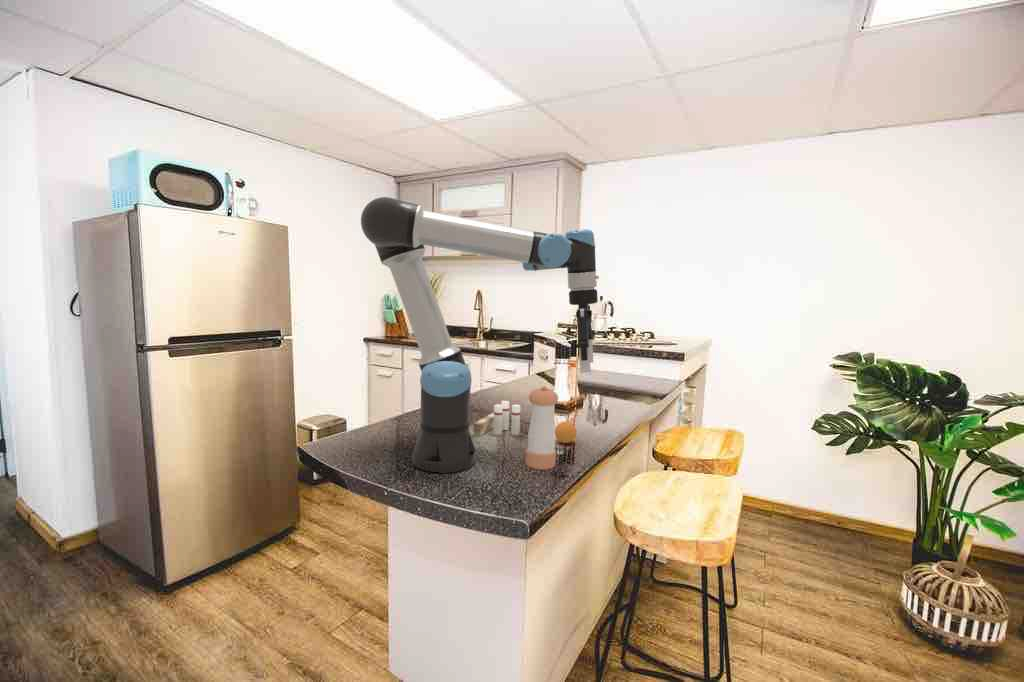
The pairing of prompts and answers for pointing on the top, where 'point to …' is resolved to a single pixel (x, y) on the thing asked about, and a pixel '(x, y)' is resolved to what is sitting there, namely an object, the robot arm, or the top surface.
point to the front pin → (515, 420)
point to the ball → (565, 432)
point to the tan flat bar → (483, 425)
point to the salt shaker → (542, 430)
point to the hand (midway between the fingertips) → (587, 367)
